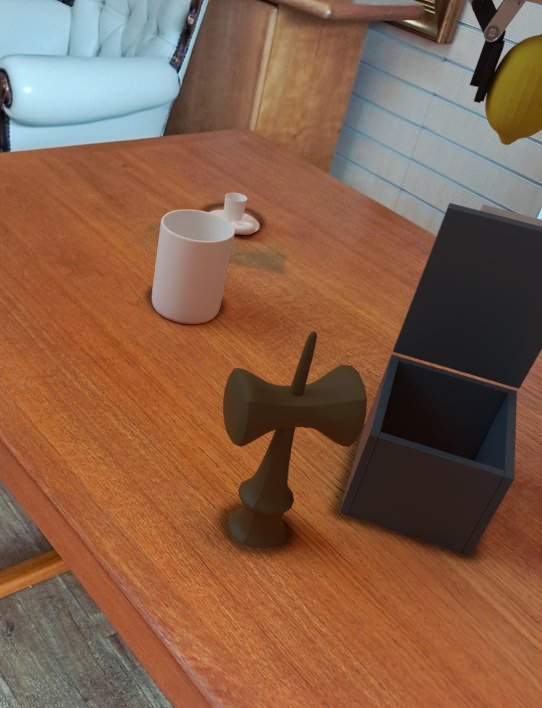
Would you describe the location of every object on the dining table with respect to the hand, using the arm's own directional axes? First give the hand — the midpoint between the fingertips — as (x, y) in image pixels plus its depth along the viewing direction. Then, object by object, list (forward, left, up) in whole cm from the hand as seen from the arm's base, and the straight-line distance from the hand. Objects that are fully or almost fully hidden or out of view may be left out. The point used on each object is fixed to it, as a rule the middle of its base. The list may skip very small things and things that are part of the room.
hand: (520, 105), depth 61 cm
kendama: (+15, +18, -32) cm, 39 cm away
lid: (-2, +5, -14) cm, 15 cm away
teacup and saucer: (+18, -43, -32) cm, 56 cm away
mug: (+22, -21, -32) cm, 44 cm away
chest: (0, +10, -31) cm, 33 cm away
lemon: (0, 0, -3) cm, 3 cm away
